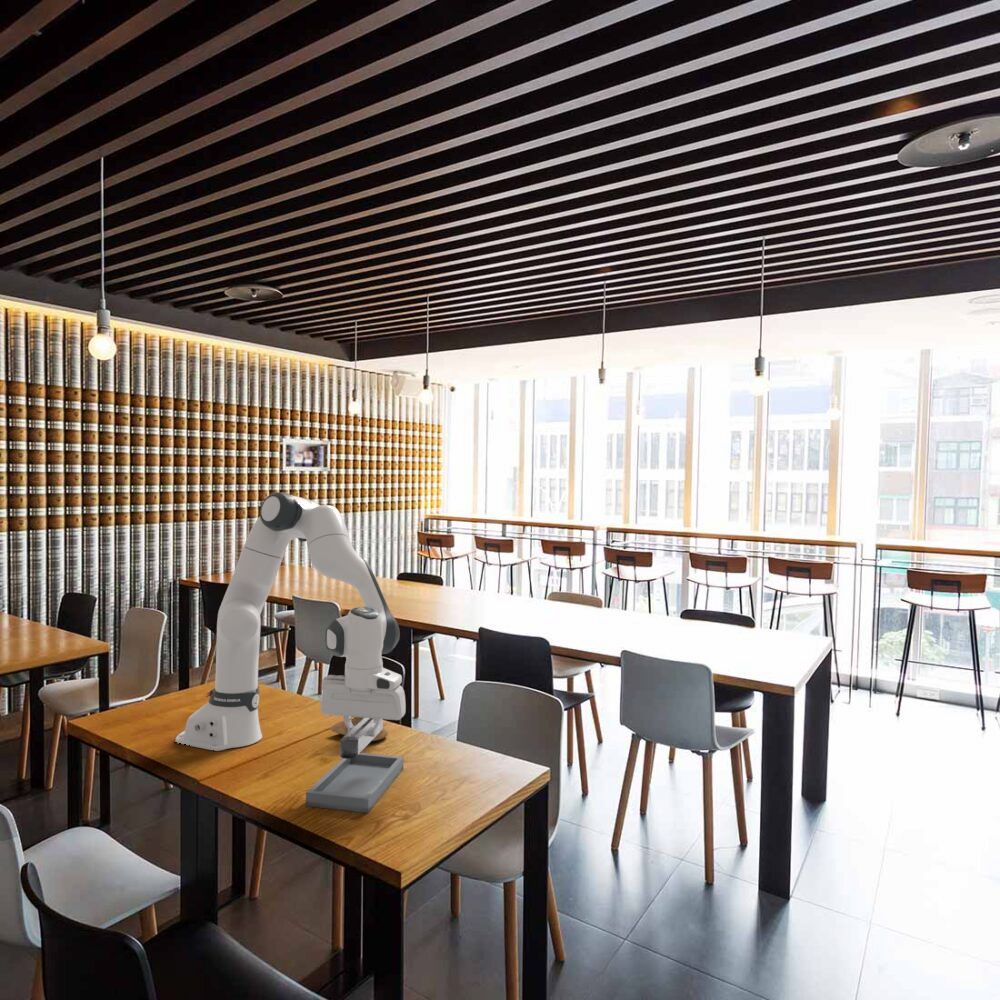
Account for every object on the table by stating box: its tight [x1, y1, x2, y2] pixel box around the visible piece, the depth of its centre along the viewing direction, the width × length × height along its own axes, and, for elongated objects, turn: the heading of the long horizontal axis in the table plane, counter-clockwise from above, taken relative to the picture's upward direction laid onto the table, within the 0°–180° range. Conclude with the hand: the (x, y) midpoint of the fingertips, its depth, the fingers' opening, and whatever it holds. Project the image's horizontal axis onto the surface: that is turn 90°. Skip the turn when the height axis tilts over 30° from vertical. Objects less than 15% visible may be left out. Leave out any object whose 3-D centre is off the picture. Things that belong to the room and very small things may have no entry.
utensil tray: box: [305, 752, 405, 814], centre depth 163 cm, size 14×25×3 cm, turn 170°
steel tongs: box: [339, 718, 384, 759], centre depth 163 cm, size 4×20×4 cm, turn 171°
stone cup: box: [330, 717, 389, 742], centre depth 197 cm, size 15×12×15 cm
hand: (362, 735), depth 164 cm, fingers closed on steel tongs, 4 cm apart
